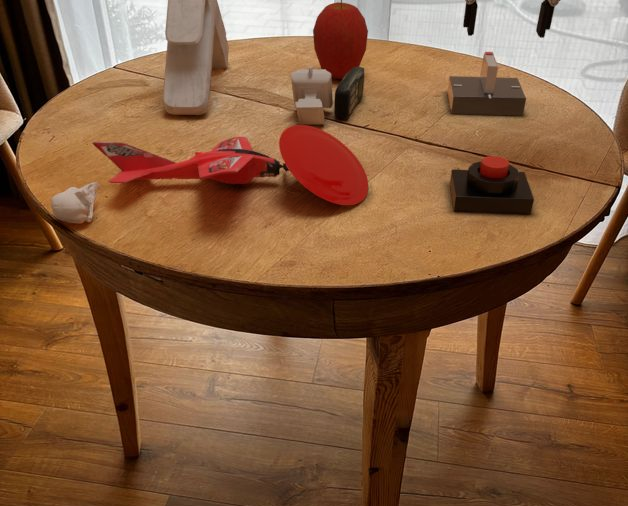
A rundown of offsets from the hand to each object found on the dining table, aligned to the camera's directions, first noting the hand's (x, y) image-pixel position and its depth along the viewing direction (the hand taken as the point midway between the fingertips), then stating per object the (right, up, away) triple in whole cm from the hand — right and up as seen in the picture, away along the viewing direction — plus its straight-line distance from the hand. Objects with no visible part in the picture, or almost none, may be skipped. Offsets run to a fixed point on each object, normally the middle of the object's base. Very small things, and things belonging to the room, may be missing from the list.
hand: (504, 33), depth 94 cm
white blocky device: (-27, +1, +18) cm, 32 cm away
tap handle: (+3, +1, +22) cm, 22 cm away
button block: (-3, -24, -3) cm, 24 cm away
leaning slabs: (-48, +4, +30) cm, 56 cm away
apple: (-22, +8, +35) cm, 42 cm away
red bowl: (-25, -19, -4) cm, 32 cm away
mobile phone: (-20, -1, +23) cm, 31 cm away
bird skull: (-57, -26, -6) cm, 63 cm away
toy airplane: (-43, -21, -1) cm, 48 cm away
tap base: (+3, -1, +24) cm, 24 cm away
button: (-3, -21, -5) cm, 22 cm away
